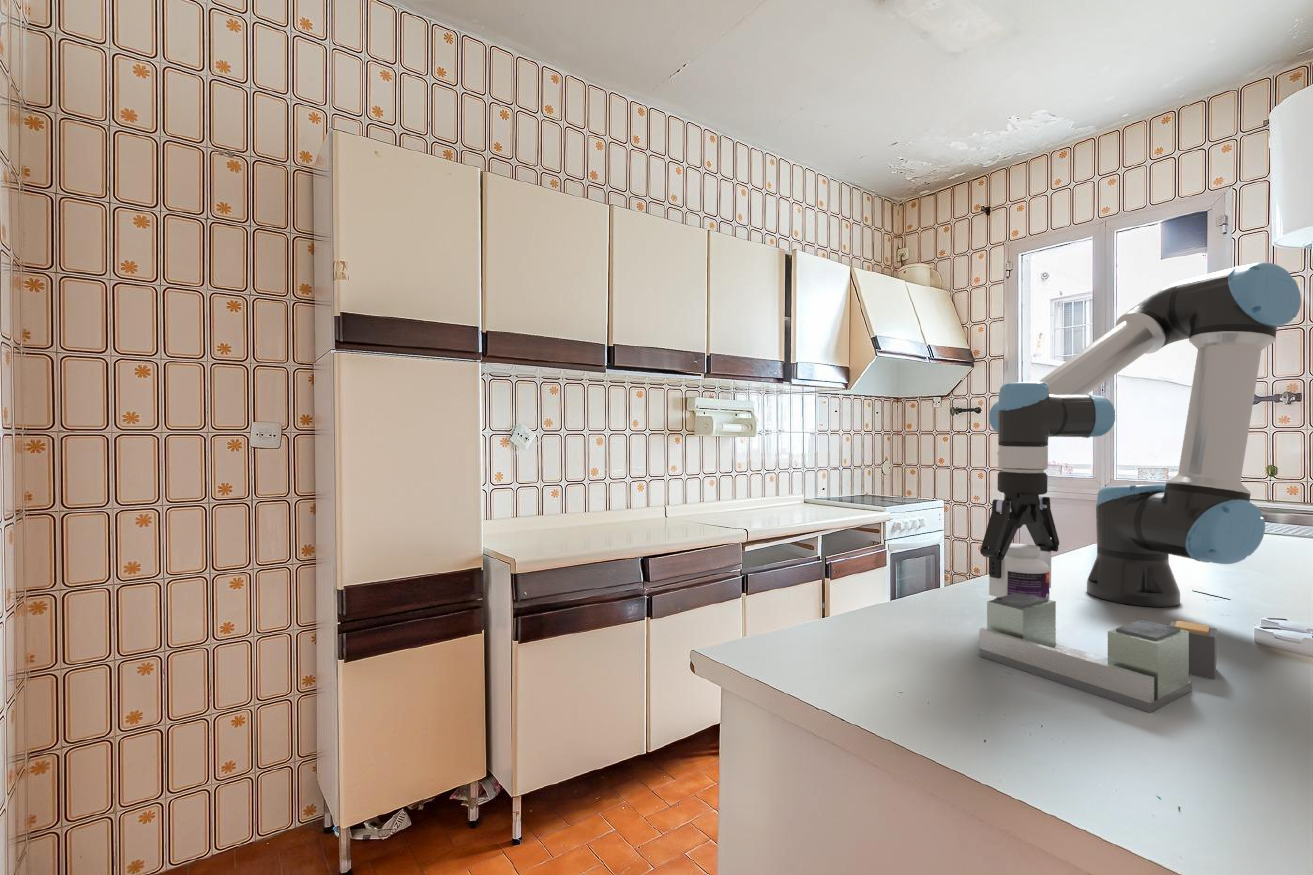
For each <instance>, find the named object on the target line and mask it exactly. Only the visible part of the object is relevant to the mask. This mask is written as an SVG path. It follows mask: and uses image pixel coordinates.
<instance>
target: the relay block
mask: <svg viewBox="0 0 1313 875" xmlns="http://www.w3.org/2000/svg"><path fill="white" fill-rule="evenodd" d="M1169 626H1172V627H1177V628H1180V629H1182V630H1186V631H1189V675H1191V676H1195V677H1200V678H1205V679H1209V680H1215V679H1216V673H1217V661H1218V660H1217V647H1218V646H1217V643H1218V642H1217V637H1218V635H1217V634H1218V633H1217V628H1215V627H1210V625H1209V624H1200V623H1195V622H1188V621H1182V620H1176V621H1173V620H1171V621H1170V623H1169Z"/></svg>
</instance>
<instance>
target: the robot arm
mask: <svg viewBox="0 0 1313 875" xmlns="http://www.w3.org/2000/svg"><path fill="white" fill-rule="evenodd" d="M1301 296H1302V295H1301V291H1300V288H1299V285H1298V284H1297V282H1296V280H1295V279H1294V278H1293V277H1292V275H1291V273H1290V272H1289V271H1288V270H1286V269H1285V268H1283V267H1282V266H1280V265H1279V264H1275V263H1271V262H1255V263H1251V264H1246V265H1245V264H1242V265H1241V264H1240V265H1236V266H1234V267H1232V268H1228V269H1223V270H1219V271H1216V272H1211V273H1208V274H1203V275H1199V276H1195V277H1190V278H1185V279H1182V280H1179V281H1177V282H1174V283H1171V284H1169V285H1168V286H1165V287H1163V288H1162V289H1160V290H1158V291H1157V292H1155V293H1153V294H1151V295H1150V296H1149V297H1147V298H1145V299H1144V300H1142V301H1141V302H1139V303H1137V305H1135V306H1133V307H1132V308H1130V309H1129V310H1127V311H1126V312H1125V313H1124V314H1122V315H1121V316H1120V317H1119V318H1117V319H1116V323H1115V326H1114V327H1112V328H1111V329H1110V330H1108V331H1107V332H1106V333H1105V334H1103V335H1102V336H1100V337H1099V338H1097V339H1096V340H1094V341H1093V342H1091V343H1090V344H1088V346H1086V347H1085V348H1083V349H1082V350H1081V351H1079V352H1077V353H1076V354H1075V355H1074V356H1071V357H1070V358H1069V359H1068V360H1067V361H1065V362H1063V363H1062V364H1061V365H1059V366H1058V367H1056V368H1055V369H1054V370H1052V371H1050V372H1049V373H1048V374H1047V375H1045V376H1044V377H1042V378H1041V379H1040V380H1039V381H1019V382H1018V381H1017V382H1008V383H1005V384H1003V385H1001V387H1000V388H999V393H998V401H996V402H995V403H994V404H993V405H992V406H991V408H990V410H989V413H988V421H989V424H990V426H991V428H992V430H993V431H995V433H997V434H998V435H997V437H998V438H997V439H998V450H997V456H998V457H997V462H998V463H997V466H998V468H999V469H1001V470H1000V471H998V473H997V491H998V492H999V493H1003V494H1004V499H995V498H994V499H993V500H992V503H991V513H990V517H989V520H988V524H987V527H986V530H985V533H984V537H983V541H982V543H981V547H980V554H981V555H982V557H985V558H988V560H989V561H988V563H989V565H988V568H989V569H988V576H989V577H988V578H989V581H988V595H989V596H992V597H1003V596H1007V580H1008V560H1007V559H1004V557H1005V555H1006V553H1007V551H1008V549H1009V547H1010V544H1011V543H1012V542H1013V540H1014V537H1015V535H1016V534H1017V531H1018V529H1021V528H1023V526H1026V529H1027V531H1028V532H1029V534H1030V537H1031V538H1032V540H1033V542H1034V545H1035V546H1038V547H1040V553H1041V554H1040V556H1039V559H1040V560H1043V561H1044V562H1046V563H1047V565H1048V566H1049V589H1051V588H1052V552H1058V551H1059V546H1060V539H1059V536H1058V532H1057V528H1056V523H1055V520H1054V517H1053V512H1052V510H1051V498H1050V496H1044V495H1046V494H1047V493H1048V483H1049V482H1048V477H1049V475H1048V474H1047V473H1046V472H1045V470H1048V469H1049V438H1051V437H1053V438H1054V437H1055V438H1057V437H1058V438H1085V439H1088V438H1093V437H1094V438H1095V437H1097V438H1098V437H1101V436H1105V435H1106V434H1107V433H1109V432H1110V431H1111V429H1112V428H1113V426H1114V424H1115V422H1116V409H1115V405H1113V403H1112V402H1111V400H1110V399H1108V398H1106V397H1105V396H1104V395H1103V396H1102V395H1093V394H1091V392H1093V391H1094V390H1096V389H1097V388H1099V387H1100V386H1101V385H1103V384H1104V383H1105V382H1107V381H1108V380H1110V379H1111V378H1112V377H1114V376H1115V375H1116V374H1118V373H1120V372H1121V371H1122V370H1123V369H1125V368H1126V367H1128V366H1130V364H1133V363H1134V362H1135V361H1136V360H1138V359H1139V358H1140V357H1142V356H1143V355H1145V354H1147V355H1149V354H1153V353H1156V352H1158V351H1160V350H1162V348H1164V347H1166V346H1167V345H1169V344H1170V345H1171V344H1172V343H1175V342H1180V341H1184V340H1188V342H1189V343H1191V344H1192V346H1194V347H1195V348H1196V349H1197V352H1196V353H1197V354H1196V359H1195V367H1194V370H1193V372H1194V373H1193V379H1192V385H1191V392H1190V397H1189V404H1188V410H1187V415H1186V416H1187V417H1186V421H1185V422H1186V423H1185V430H1184V435H1183V440H1182V441H1183V442H1182V446H1181V447H1182V449H1181V455H1180V461H1179V467H1178V472H1177V474H1176V475H1175V476H1173V477H1172V478H1170V479H1169V480H1167V481H1165V484H1146V485H1145V484H1139V485H1113V486H1112V485H1111V486H1110V485H1109V486H1103V487H1102V488H1100V489H1099V490H1098V492H1097V496H1096V498H1097V499H1096V504H1095V506H1096V507H1095V509H1096V510H1095V512H1096V513H1095V514H1096V515H1095V516H1096V558H1095V560H1094V563H1093V564H1092V567H1091V570H1090V572H1089V575H1088V578H1087V581H1086V592H1087V593H1088V594H1090V596H1093V597H1096V598H1098V599H1102V600H1106V601H1110V602H1114V603H1115V602H1116V603H1118V604H1119V603H1120V604H1126V605H1130V606H1131V605H1132V606H1141V607H1142V606H1143V607H1154V608H1155V607H1156V608H1157V607H1159V608H1161V607H1162V608H1163V607H1164V608H1166V607H1175V606H1178V605H1180V604H1181V591H1180V588H1179V586H1178V583H1177V581H1176V577H1175V576H1174V574H1173V570H1172V568H1171V566H1170V561H1169V560H1170V559H1169V555H1172V556H1177V557H1182V558H1187V559H1190V560H1195V561H1197V562H1202V563H1206V564H1207V563H1212V564H1218V565H1232V564H1237V563H1240V562H1242V561H1244V560H1246V559H1247V558H1248V557H1249V556H1252V554H1253V553H1255V551H1257V549H1258V548H1259V546H1260V545H1261V544H1262V542H1263V539H1264V535H1265V533H1266V521H1265V517H1263V516H1262V515H1263V512H1262V511H1261V509H1260V508H1259V507H1258V506H1257V505H1255V504H1254V503H1252V502H1250V501H1251V500H1250V499H1251V496H1252V495H1251V493H1252V492H1251V491H1250V490H1249V489H1248V488H1247V487H1246V486H1245V485H1243V483H1242V477H1243V476H1242V474H1243V469H1244V464H1245V463H1244V462H1245V457H1246V449H1247V445H1248V438H1249V433H1250V432H1249V431H1250V425H1251V419H1252V418H1251V417H1252V413H1253V406H1254V400H1255V399H1254V398H1255V394H1256V387H1257V381H1258V375H1259V374H1258V373H1259V367H1260V363H1261V356H1262V351H1263V350H1264V349H1266V348H1267V347H1269V346H1270V345H1272V344H1273V343H1275V341H1276V336H1277V330H1278V328H1279V327H1284V326H1285V325H1288V324H1289V323H1291V322H1292V321H1293V320H1294V318H1296V317H1297V315H1298V314H1299V312H1300V311H1301V310H1300V309H1301V305H1302V297H1301ZM1041 495H1043V496H1041Z"/></svg>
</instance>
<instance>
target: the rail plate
mask: <svg viewBox="0 0 1313 875" xmlns="http://www.w3.org/2000/svg"><path fill="white" fill-rule="evenodd" d="M1056 602H1057V601H1056V600H1051V599H1049V600H1048V598H1043V597H1039V596H1034V595H1030V594H1025V593H1021V592H1019V593H1015V594H1011V595H1007V596H1003V597H999V598H994V599H991V600H988V601H986V628H984V627H983V628H982V627H981V628H979V629H978V630H979V631H978V632H979V633H978V634H979V657H981V658H983V659H984V658H985V659H988V660H990V661H993V662H997V663H999V664H1003V665H1006V666H1009V667H1011V668H1014V669H1017V670H1020V671H1023V672H1026V673H1030V674H1032V675H1035V676H1038V677H1041V678H1044V679H1046V680H1050V681H1053V682H1056V683H1059V684H1063V685H1066V686H1069V687H1071V688H1074V689H1078V690H1080V691H1083V692H1086V693H1089V694H1093V695H1094V696H1095V695H1096V696H1099V697H1102V698H1104V699H1107V700H1110V701H1114V702H1117V703H1119V704H1122V705H1126V706H1128V707H1131V708H1135V709H1138V710H1141V711H1144V712H1147V713H1149V714H1151V713H1152V712H1155V711H1156V710H1159V709H1160V708H1162V707H1165V706H1166V705H1168V704H1170V703H1171V702H1174V701H1175V700H1177V699H1179V698H1181V697H1183V696H1185V695H1187V694H1189V693H1191V692H1192V691H1193V687H1192V686H1193V682H1192V681H1190V680H1189V678H1190V677H1189V631H1186V630H1182V629H1180V628H1177V627H1172V626H1170V625H1168V624H1163V623H1159V622H1155V621H1154V622H1153V621H1148V620H1145V619H1138V620H1135V621H1131V622H1130V623H1127V624H1124V625H1121V626H1118V627H1116V628H1113V629H1111V630H1110V629H1109V630H1108V631H1107V657H1106V656H1105V657H1104V656H1101V655H1097V654H1094V653H1090V652H1086V651H1082V650H1080V649H1076V648H1073V647H1069V646H1066V645H1062V644H1058V643H1056V641H1057V640H1056V639H1057V638H1056V633H1057V630H1056V627H1057V626H1056V625H1057V623H1056V622H1057V621H1056V615H1057V614H1056V612H1057V610H1056V606H1057V605H1056Z"/></svg>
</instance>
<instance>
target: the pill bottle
mask: <svg viewBox="0 0 1313 875" xmlns="http://www.w3.org/2000/svg"><path fill="white" fill-rule="evenodd" d="M1040 554H1041V553H1040V547H1038V546H1036V545H1035V544H1029V543H1028V544H1027V543H1015V542H1014V543H1012V542H1011V544H1010V547H1009V549H1008V551H1007V553H1006V555H1005V557H1004V559H1007V560H1008V580H1007V595H1011V594H1015V593H1019V592H1021V593H1025V594H1030V595H1034V596H1039V597H1043V598H1048V600H1050V588H1049V566H1048V565H1047V563H1046V562H1044V561H1043V560H1040V559H1039V556H1040ZM995 597H996V596H995ZM996 598H999V597H996Z"/></svg>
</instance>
